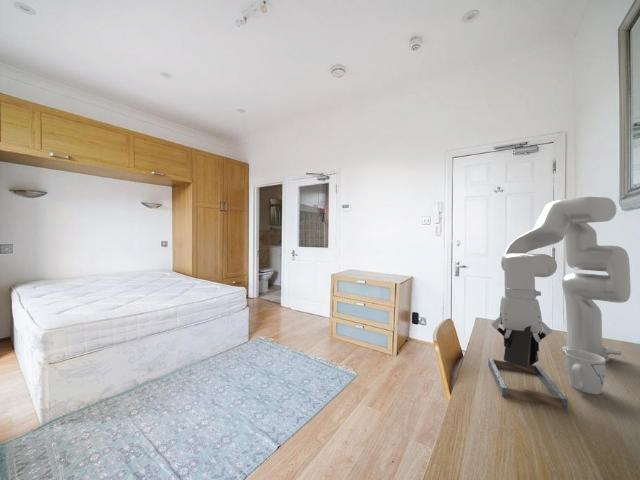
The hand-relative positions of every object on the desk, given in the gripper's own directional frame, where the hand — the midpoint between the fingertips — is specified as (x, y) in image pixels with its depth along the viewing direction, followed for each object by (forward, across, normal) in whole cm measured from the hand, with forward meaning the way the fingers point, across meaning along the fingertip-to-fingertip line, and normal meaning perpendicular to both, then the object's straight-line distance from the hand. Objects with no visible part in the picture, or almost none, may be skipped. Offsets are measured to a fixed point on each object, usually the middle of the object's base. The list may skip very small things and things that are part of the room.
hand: (520, 350), depth 79 cm
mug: (+10, -16, -3) cm, 19 cm away
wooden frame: (+10, 0, 0) cm, 10 cm away
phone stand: (+3, 0, 0) cm, 3 cm away
